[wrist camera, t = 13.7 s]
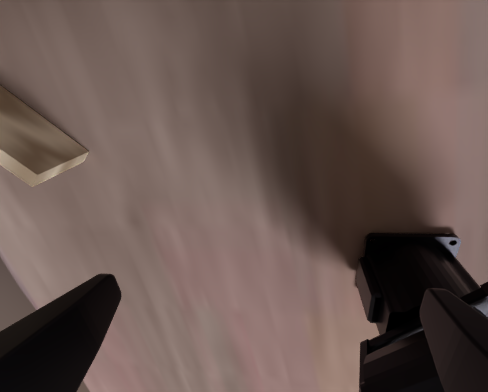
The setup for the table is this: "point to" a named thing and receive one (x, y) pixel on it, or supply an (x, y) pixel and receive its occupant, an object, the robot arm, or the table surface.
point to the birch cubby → (33, 143)
